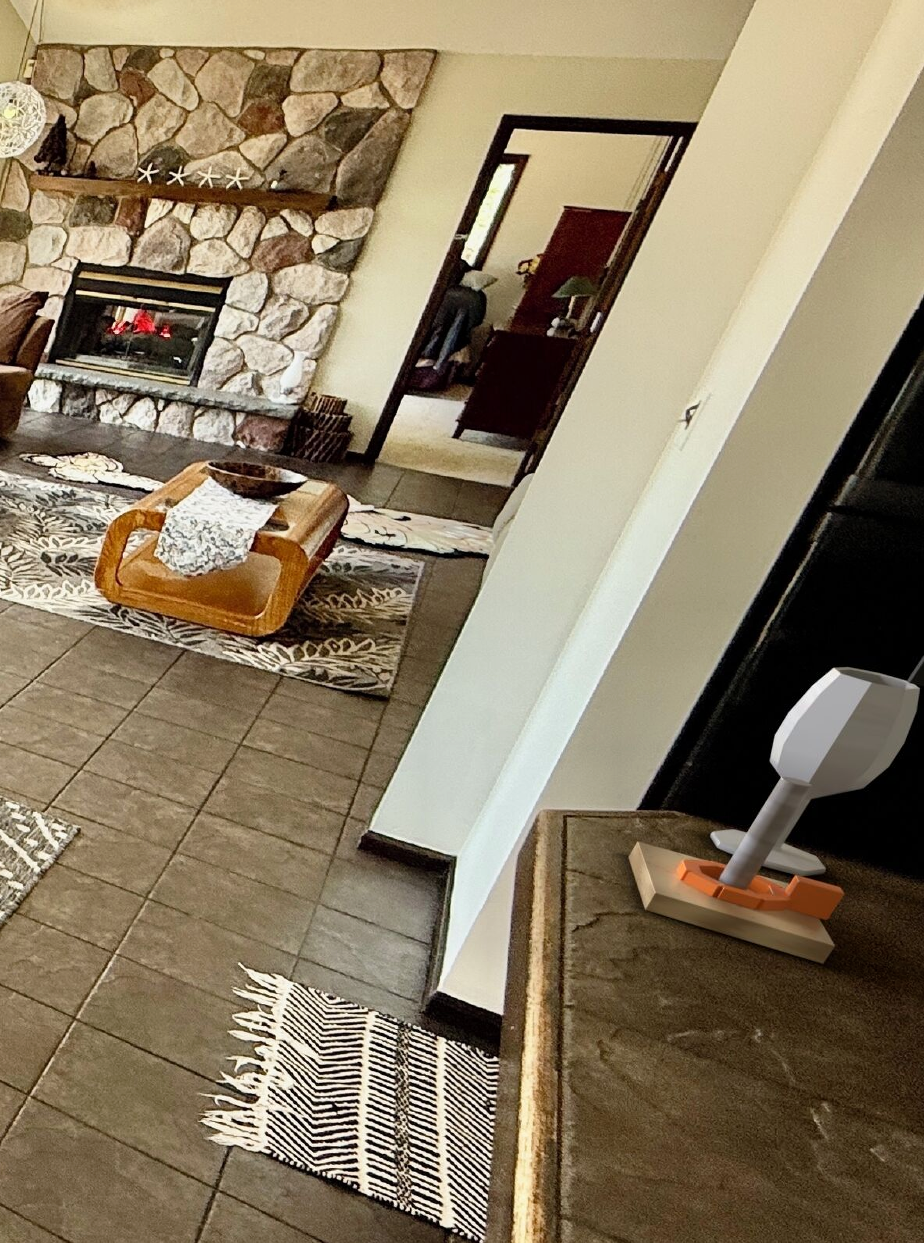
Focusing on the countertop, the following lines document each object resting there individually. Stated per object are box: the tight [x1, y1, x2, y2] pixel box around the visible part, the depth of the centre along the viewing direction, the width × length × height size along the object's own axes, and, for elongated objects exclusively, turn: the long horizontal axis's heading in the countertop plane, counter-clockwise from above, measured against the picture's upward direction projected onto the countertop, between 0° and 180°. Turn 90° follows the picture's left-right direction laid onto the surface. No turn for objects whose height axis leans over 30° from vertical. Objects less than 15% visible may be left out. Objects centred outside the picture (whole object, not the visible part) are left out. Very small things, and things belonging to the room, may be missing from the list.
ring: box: [677, 859, 845, 921], centre depth 112 cm, size 10×7×3 cm
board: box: [628, 777, 836, 965], centre depth 112 cm, size 12×14×14 cm
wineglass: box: [710, 666, 921, 877], centre depth 121 cm, size 9×9×21 cm
